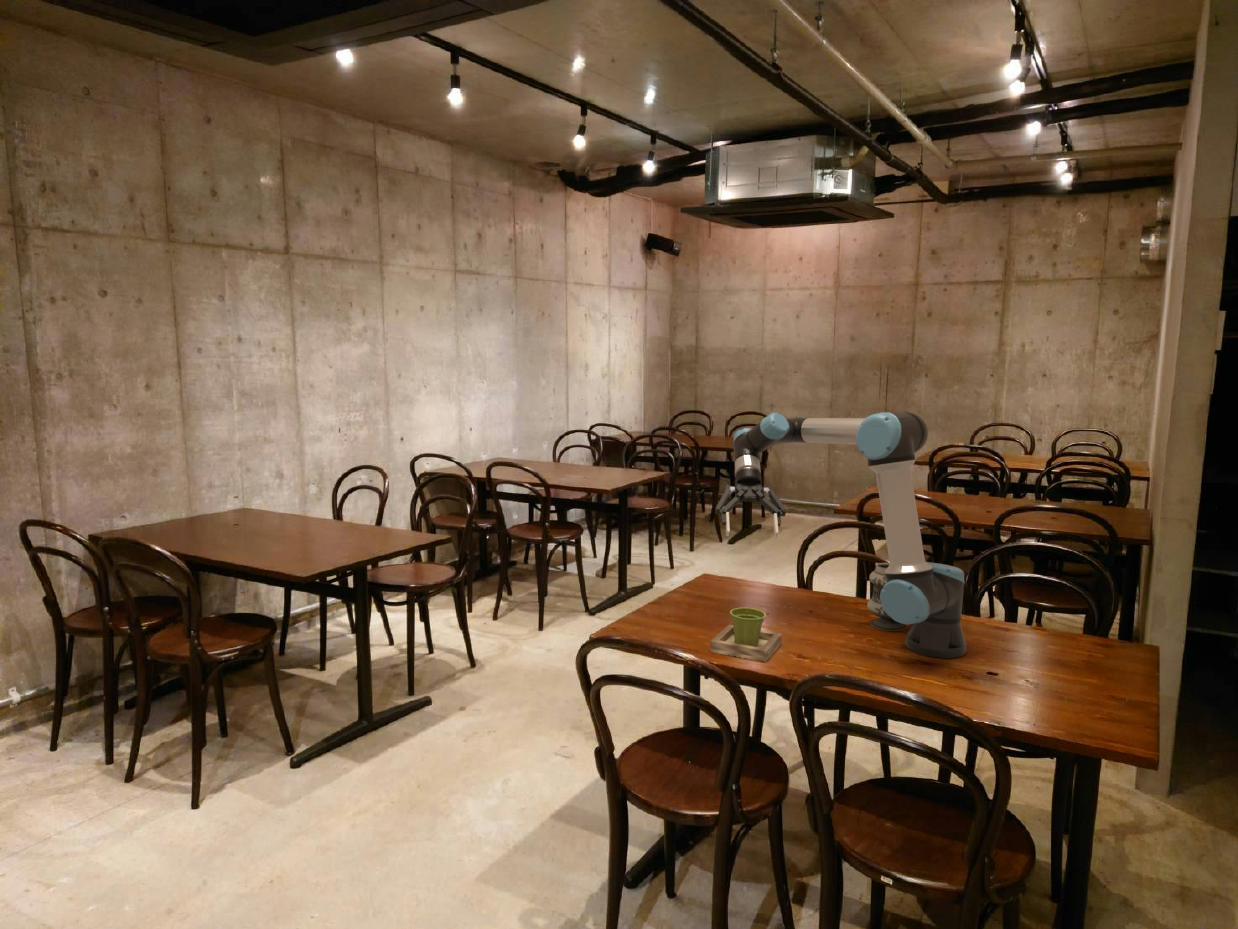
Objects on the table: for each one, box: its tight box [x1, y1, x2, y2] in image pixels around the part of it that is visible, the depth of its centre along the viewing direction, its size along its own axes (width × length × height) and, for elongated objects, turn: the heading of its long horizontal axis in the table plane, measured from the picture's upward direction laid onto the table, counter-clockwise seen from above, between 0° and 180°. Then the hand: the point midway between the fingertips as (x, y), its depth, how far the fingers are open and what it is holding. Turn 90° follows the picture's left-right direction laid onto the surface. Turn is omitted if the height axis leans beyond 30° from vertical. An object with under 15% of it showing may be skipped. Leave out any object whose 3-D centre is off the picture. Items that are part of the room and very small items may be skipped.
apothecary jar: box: [866, 562, 907, 632], centre depth 227 cm, size 12×12×18 cm
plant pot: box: [729, 607, 767, 646], centre depth 208 cm, size 9×9×9 cm
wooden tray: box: [709, 624, 783, 663], centre depth 208 cm, size 15×15×3 cm
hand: (752, 534), depth 220 cm, fingers open, 13 cm apart
